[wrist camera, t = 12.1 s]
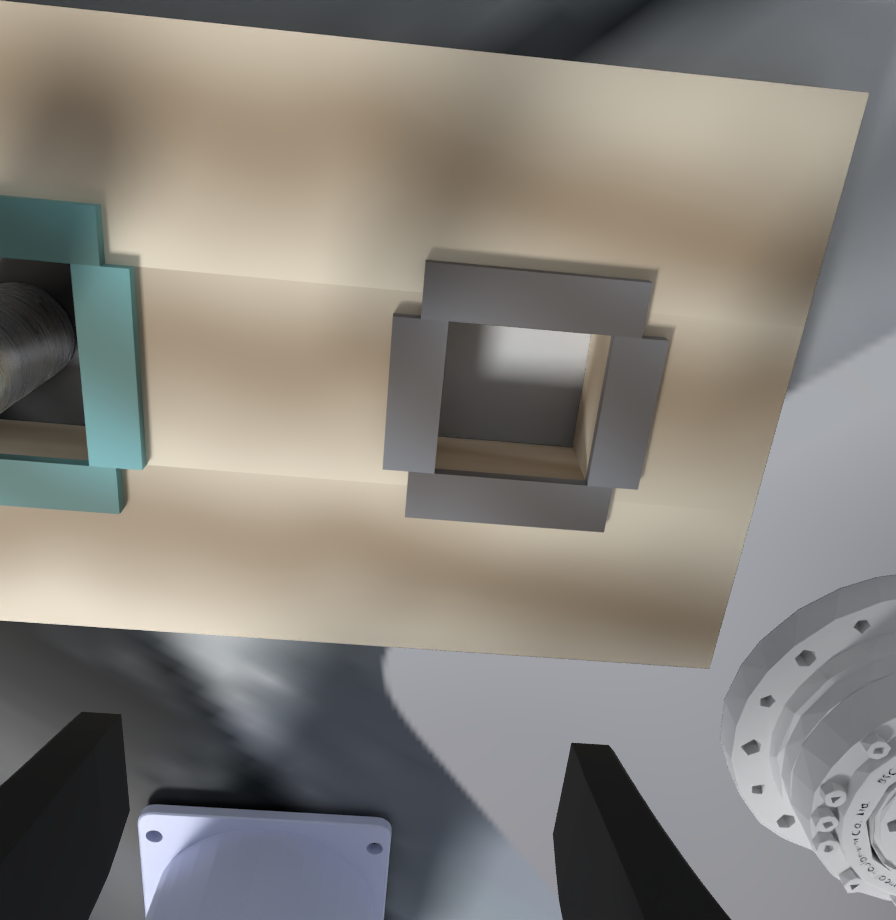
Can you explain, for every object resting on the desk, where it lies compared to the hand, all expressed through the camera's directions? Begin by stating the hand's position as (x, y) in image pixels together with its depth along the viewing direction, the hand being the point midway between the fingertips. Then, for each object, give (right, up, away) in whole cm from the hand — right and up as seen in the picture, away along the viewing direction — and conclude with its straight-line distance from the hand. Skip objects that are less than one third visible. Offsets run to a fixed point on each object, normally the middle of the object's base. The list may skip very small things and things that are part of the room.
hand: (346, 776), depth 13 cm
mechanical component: (+15, -2, +12) cm, 19 cm away
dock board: (-3, +8, +7) cm, 11 cm away
